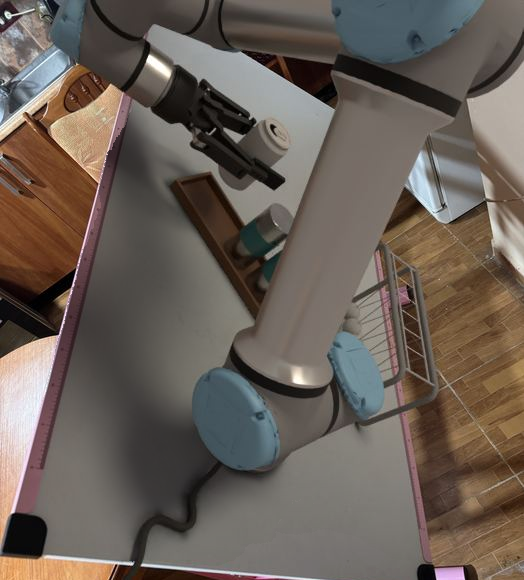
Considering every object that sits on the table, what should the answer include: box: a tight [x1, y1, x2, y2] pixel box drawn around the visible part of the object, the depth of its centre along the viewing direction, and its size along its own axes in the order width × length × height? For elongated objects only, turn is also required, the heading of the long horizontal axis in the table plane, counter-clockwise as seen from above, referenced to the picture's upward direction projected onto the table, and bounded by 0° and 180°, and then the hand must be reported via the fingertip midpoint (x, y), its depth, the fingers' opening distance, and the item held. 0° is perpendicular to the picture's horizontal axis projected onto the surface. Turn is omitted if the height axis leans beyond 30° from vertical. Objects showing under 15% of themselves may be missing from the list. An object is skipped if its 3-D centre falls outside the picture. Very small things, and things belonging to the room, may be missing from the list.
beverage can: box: [217, 116, 292, 192], centre depth 91 cm, size 6×6×12 cm
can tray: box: [169, 171, 268, 320], centre depth 99 cm, size 10×27×2 cm, turn 47°
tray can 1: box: [224, 202, 294, 270], centre depth 96 cm, size 6×6×12 cm
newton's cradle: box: [341, 242, 440, 427], centre depth 104 cm, size 30×10×18 cm, turn 178°
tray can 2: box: [246, 249, 282, 302], centre depth 96 cm, size 6×6×12 cm
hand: (278, 169), depth 93 cm, fingers closed on beverage can, 6 cm apart
